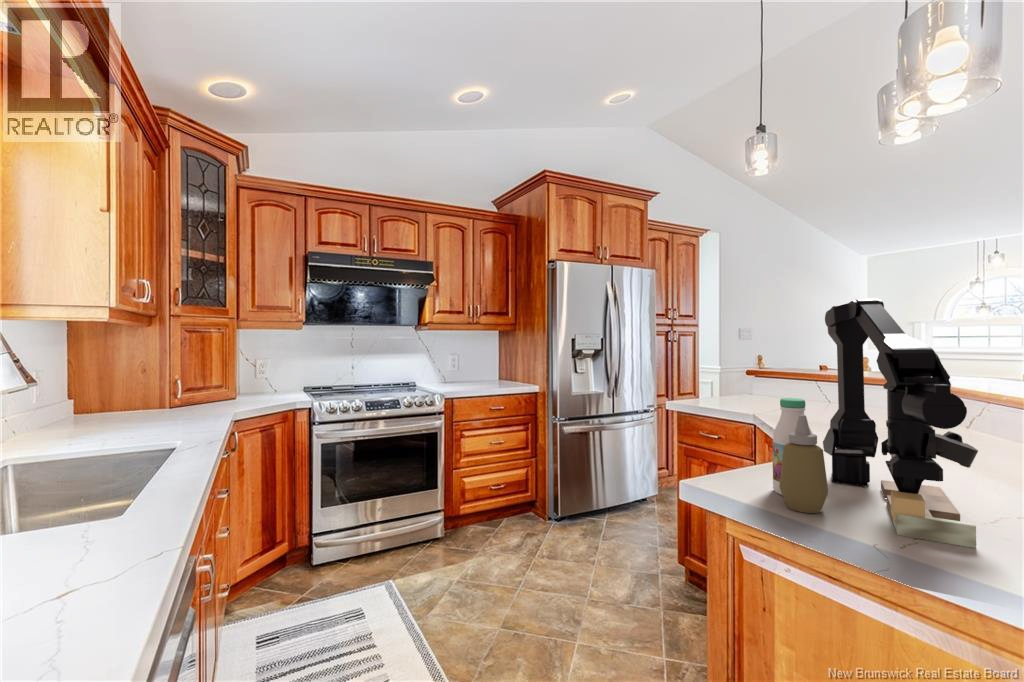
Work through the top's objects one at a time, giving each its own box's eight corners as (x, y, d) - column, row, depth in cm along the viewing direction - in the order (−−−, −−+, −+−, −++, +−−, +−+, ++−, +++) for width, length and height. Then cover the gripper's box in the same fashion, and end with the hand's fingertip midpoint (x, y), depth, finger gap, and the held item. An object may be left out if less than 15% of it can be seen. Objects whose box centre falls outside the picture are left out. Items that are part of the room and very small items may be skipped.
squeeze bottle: (805, 518, 86) (804, 420, 86) (769, 503, 94) (768, 413, 93) (839, 513, 88) (838, 417, 88) (801, 499, 96) (800, 411, 96)
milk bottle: (808, 488, 102) (807, 396, 102) (821, 501, 95) (819, 401, 95) (768, 486, 104) (767, 396, 104) (778, 498, 97) (777, 401, 97)
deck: (897, 534, 78) (897, 514, 78) (881, 489, 101) (880, 473, 101) (976, 548, 73) (976, 526, 73) (940, 496, 96) (940, 480, 96)
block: (893, 521, 79) (893, 497, 79) (891, 513, 82) (890, 490, 82) (925, 525, 77) (924, 501, 77) (921, 517, 80) (920, 494, 80)
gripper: (988, 431, 70) (989, 536, 70) (958, 413, 86) (959, 499, 86) (892, 425, 76) (893, 521, 76) (880, 409, 92) (881, 489, 92)
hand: (909, 506), depth 82 cm, fingers closed
